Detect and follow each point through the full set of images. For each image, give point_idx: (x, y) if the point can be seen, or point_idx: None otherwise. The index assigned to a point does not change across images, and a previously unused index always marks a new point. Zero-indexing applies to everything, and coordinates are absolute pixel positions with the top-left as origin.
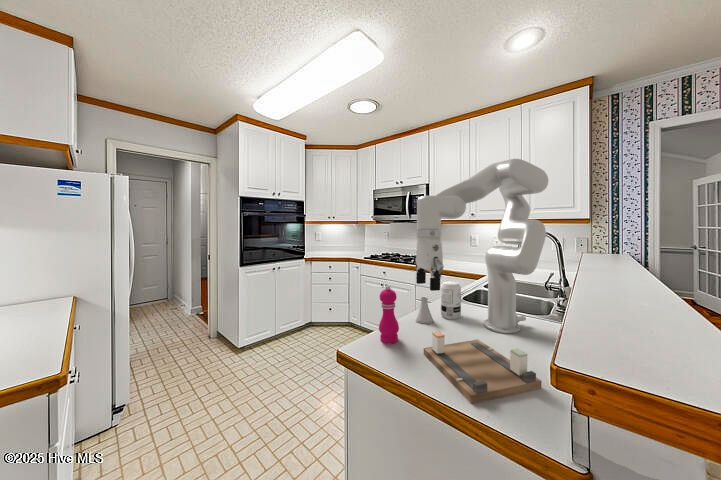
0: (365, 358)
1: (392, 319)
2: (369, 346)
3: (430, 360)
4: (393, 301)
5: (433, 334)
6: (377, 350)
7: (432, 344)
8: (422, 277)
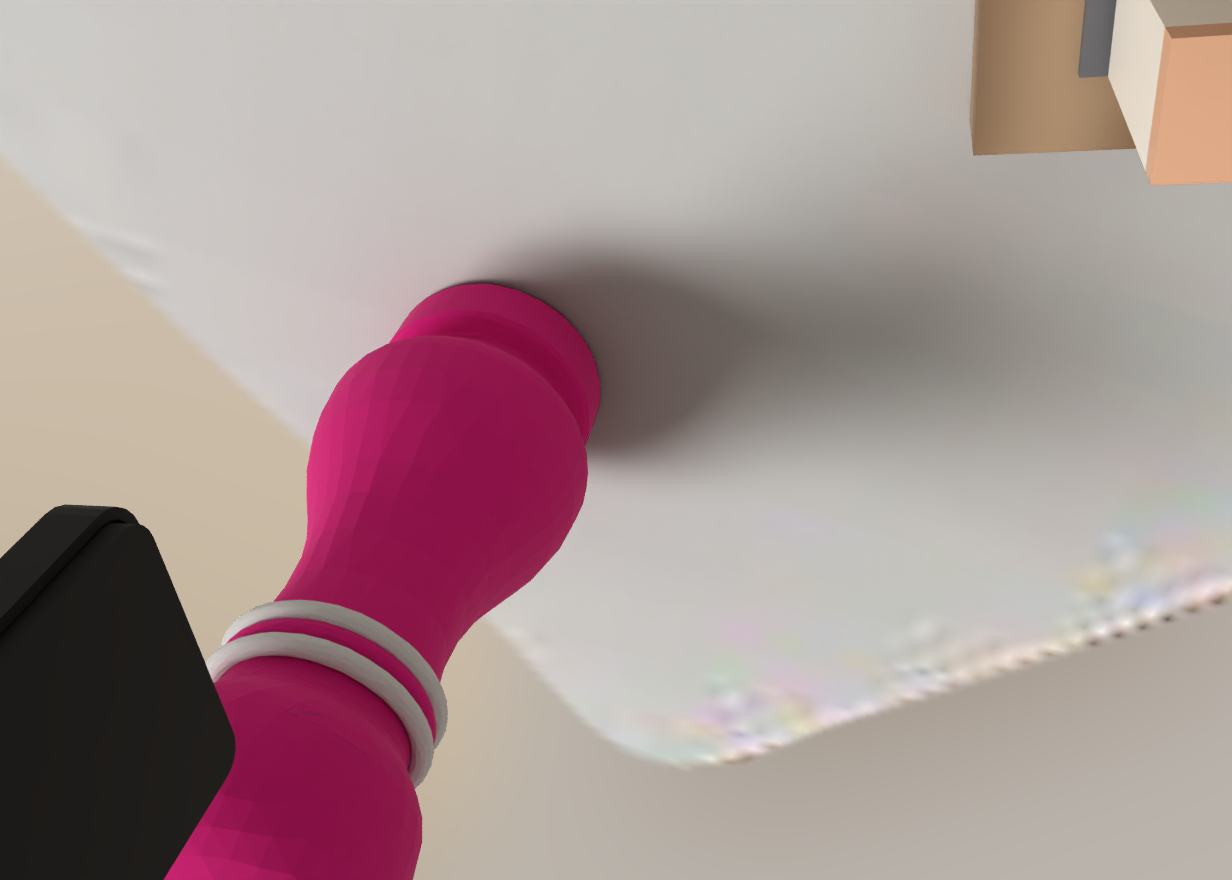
0: (850, 668)
1: (489, 545)
2: (623, 583)
3: None
4: (389, 752)
5: (1194, 173)
6: (724, 545)
7: (1118, 101)
8: (45, 796)
